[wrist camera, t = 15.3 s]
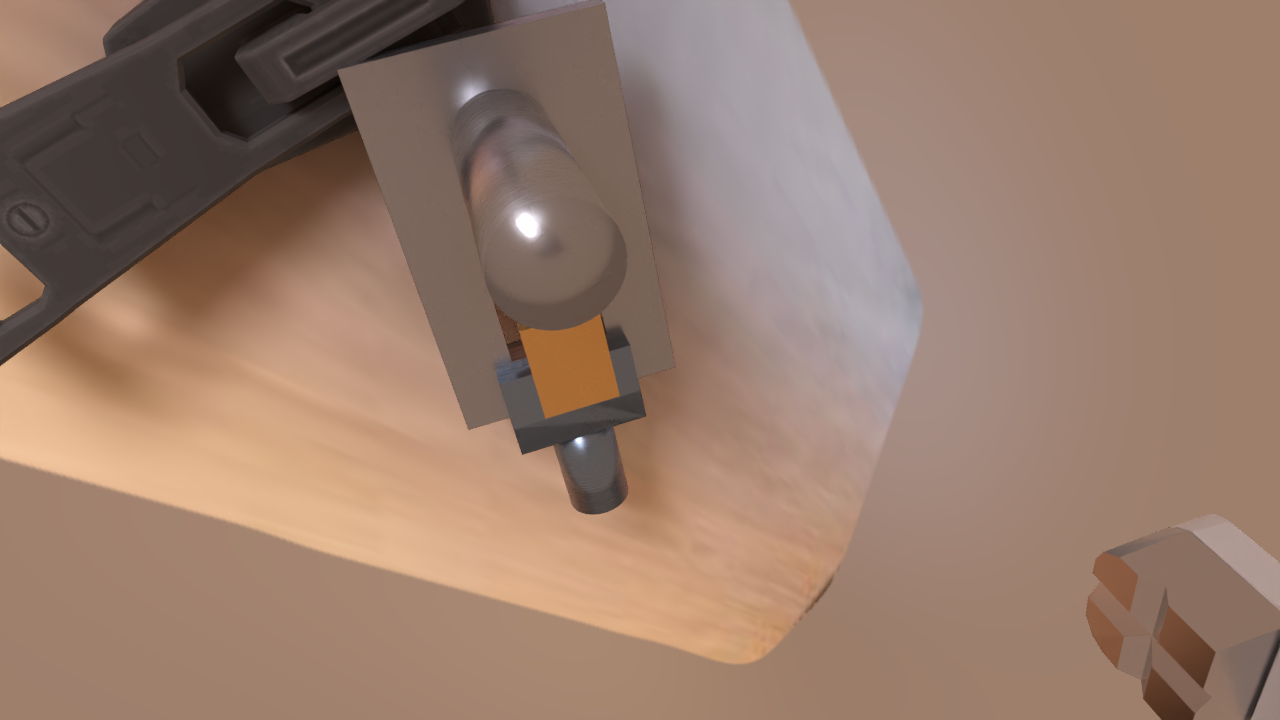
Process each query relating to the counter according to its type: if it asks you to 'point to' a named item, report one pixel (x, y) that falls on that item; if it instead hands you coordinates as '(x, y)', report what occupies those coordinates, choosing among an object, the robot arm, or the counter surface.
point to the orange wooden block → (570, 366)
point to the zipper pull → (179, 128)
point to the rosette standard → (521, 218)
